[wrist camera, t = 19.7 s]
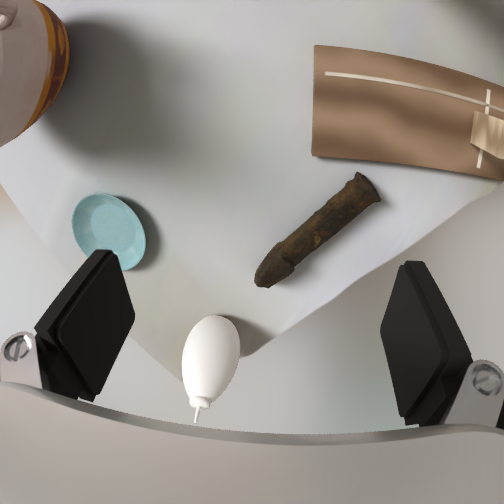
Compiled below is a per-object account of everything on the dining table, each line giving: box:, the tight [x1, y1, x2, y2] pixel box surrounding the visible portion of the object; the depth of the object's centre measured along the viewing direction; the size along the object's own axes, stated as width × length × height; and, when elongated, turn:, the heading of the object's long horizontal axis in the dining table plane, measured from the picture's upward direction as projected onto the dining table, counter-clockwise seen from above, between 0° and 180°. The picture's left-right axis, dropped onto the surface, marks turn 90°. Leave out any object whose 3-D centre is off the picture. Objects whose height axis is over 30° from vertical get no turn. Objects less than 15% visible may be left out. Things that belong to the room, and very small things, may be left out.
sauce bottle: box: [182, 315, 240, 424], centre depth 40 cm, size 8×8×18 cm
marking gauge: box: [470, 110, 504, 159], centre depth 23 cm, size 8×4×7 cm, turn 1°
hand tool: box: [254, 172, 381, 288], centre depth 36 cm, size 19×4×5 cm, turn 135°
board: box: [311, 45, 504, 181], centre depth 28 cm, size 12×26×2 cm, turn 91°
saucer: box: [72, 193, 146, 271], centre depth 40 cm, size 12×12×2 cm
